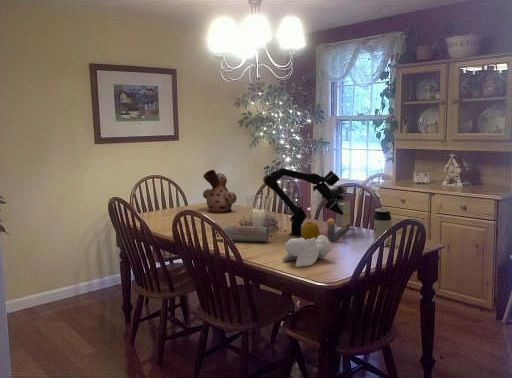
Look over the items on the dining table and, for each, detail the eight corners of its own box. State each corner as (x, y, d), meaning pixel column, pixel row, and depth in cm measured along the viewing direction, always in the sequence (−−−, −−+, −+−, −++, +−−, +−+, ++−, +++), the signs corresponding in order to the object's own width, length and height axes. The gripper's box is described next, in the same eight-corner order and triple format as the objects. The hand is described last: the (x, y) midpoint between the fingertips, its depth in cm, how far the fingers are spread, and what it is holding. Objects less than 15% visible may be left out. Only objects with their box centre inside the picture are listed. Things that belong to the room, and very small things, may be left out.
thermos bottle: (266, 225, 252) (215, 223, 259) (264, 240, 249) (213, 237, 256) (269, 229, 259) (219, 227, 266) (268, 243, 256) (217, 241, 263)
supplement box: (342, 223, 271) (342, 200, 268) (350, 224, 268) (350, 201, 265) (335, 226, 264) (335, 203, 262) (343, 227, 261) (343, 204, 259)
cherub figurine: (334, 239, 216) (297, 240, 207) (331, 266, 218) (294, 268, 208) (317, 232, 228) (281, 233, 218) (314, 258, 229) (278, 260, 220)
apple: (297, 243, 251) (297, 220, 250) (314, 240, 255) (314, 219, 253) (305, 247, 242) (305, 224, 241) (323, 245, 246) (323, 222, 244)
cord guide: (333, 242, 251) (333, 219, 250) (326, 241, 253) (326, 218, 251) (350, 228, 282) (351, 207, 280) (344, 227, 283) (344, 207, 282)
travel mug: (390, 243, 247) (391, 208, 245) (390, 247, 240) (391, 211, 237) (374, 242, 249) (374, 207, 247) (373, 246, 242) (374, 210, 239)
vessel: (243, 210, 341) (242, 168, 337) (225, 216, 323) (223, 171, 318) (210, 207, 356) (209, 166, 352) (191, 212, 338) (189, 170, 334)
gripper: (330, 184, 256) (351, 206, 252) (340, 179, 272) (360, 200, 269) (316, 198, 260) (336, 219, 257) (327, 193, 277) (345, 213, 274)
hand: (345, 212), depth 264 cm, fingers closed on supplement box, 8 cm apart
